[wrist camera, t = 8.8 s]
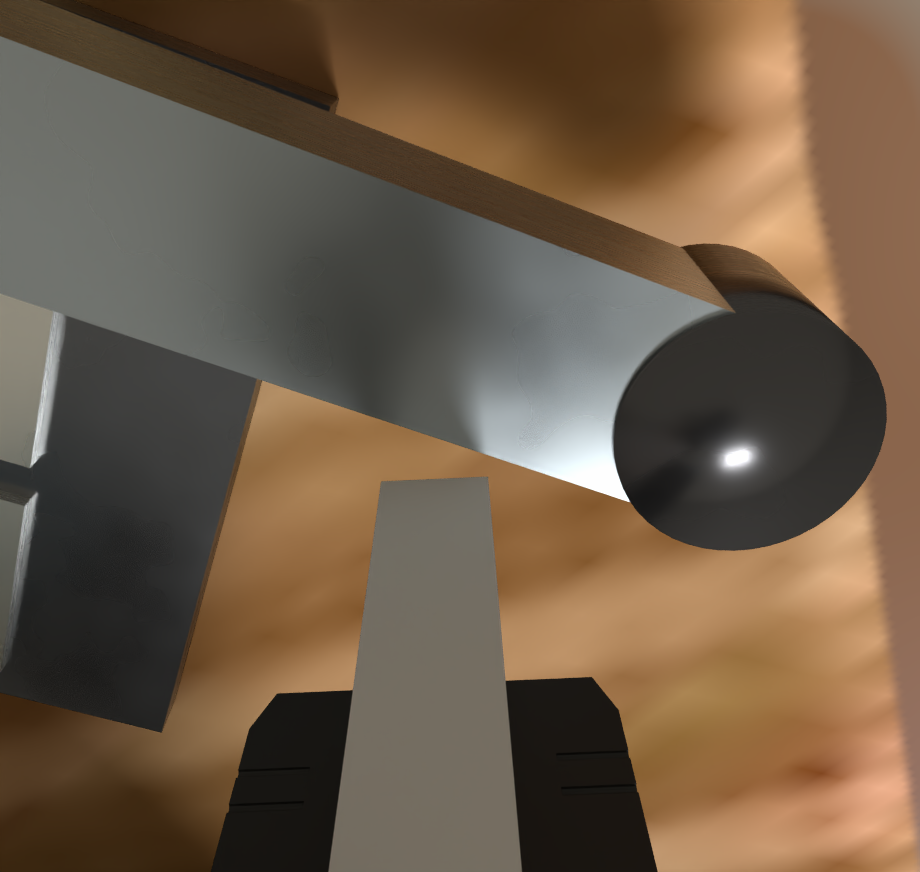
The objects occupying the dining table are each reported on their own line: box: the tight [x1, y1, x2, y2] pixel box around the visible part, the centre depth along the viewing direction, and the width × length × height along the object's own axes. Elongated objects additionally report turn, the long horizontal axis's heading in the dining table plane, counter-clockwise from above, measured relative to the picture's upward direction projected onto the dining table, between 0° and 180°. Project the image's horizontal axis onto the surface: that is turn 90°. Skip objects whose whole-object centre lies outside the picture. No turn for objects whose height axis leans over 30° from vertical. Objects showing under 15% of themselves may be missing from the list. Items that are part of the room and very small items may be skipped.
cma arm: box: [0, 0, 887, 551], centre depth 12 cm, size 18×4×3 cm, turn 70°
